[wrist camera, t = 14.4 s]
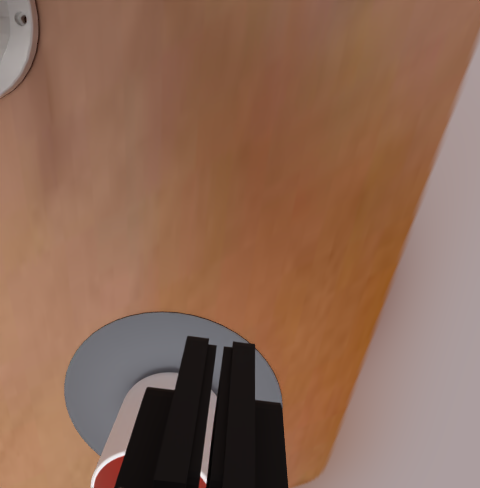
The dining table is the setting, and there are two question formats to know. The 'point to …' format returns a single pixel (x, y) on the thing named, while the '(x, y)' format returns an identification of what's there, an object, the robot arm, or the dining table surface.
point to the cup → (124, 425)
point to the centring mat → (142, 366)
